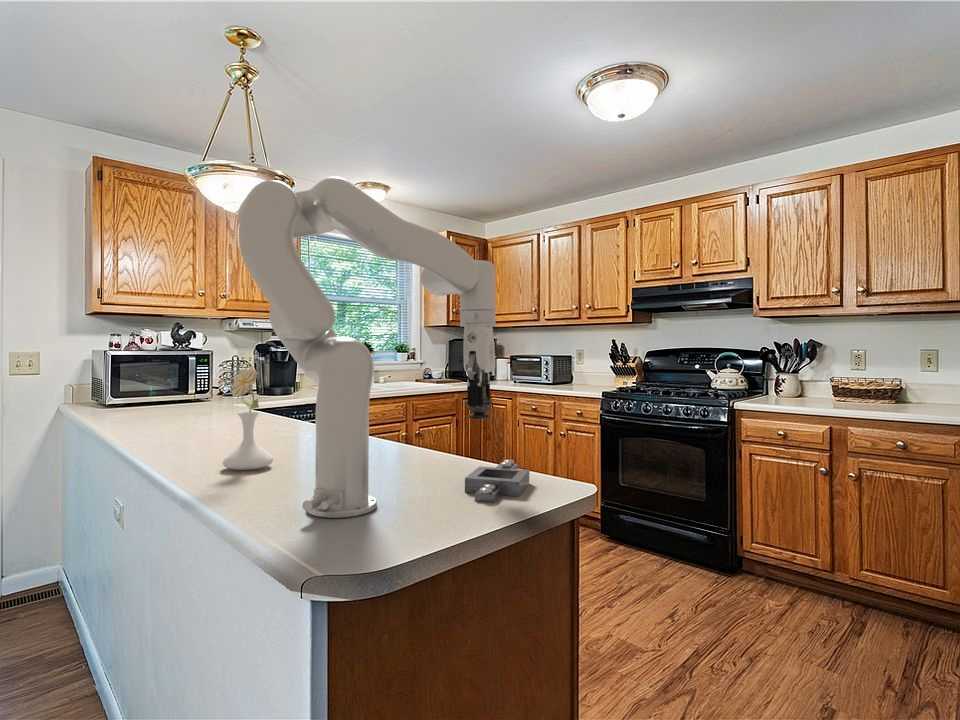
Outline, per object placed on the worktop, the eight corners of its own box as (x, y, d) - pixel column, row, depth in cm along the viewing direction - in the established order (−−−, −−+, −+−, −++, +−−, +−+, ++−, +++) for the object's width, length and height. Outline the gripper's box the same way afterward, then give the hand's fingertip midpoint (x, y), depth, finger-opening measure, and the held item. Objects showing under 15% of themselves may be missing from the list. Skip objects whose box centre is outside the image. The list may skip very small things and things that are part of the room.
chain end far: (519, 496, 108) (519, 478, 108) (464, 492, 111) (464, 474, 111) (533, 477, 125) (533, 461, 125) (485, 473, 128) (486, 458, 128)
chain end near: (513, 504, 102) (513, 492, 102) (456, 499, 106) (456, 487, 105) (529, 483, 119) (529, 473, 119) (479, 479, 122) (479, 469, 122)
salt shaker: (459, 417, 115) (458, 361, 115) (479, 414, 119) (478, 360, 119) (478, 419, 111) (477, 362, 111) (498, 416, 115) (497, 361, 115)
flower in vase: (219, 466, 133) (219, 365, 132) (268, 461, 139) (268, 365, 138) (226, 477, 122) (227, 367, 121) (279, 471, 128) (279, 367, 127)
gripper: (485, 317, 105) (487, 409, 106) (503, 320, 122) (504, 399, 122) (449, 318, 107) (450, 408, 108) (471, 321, 124) (472, 399, 124)
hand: (479, 402), depth 115 cm, fingers closed on salt shaker, 5 cm apart
